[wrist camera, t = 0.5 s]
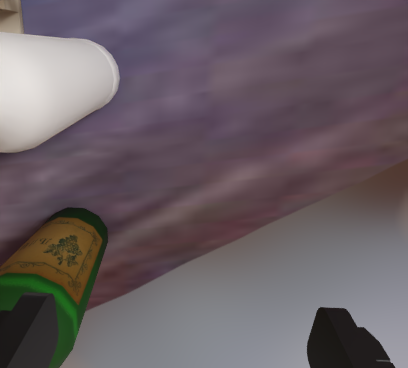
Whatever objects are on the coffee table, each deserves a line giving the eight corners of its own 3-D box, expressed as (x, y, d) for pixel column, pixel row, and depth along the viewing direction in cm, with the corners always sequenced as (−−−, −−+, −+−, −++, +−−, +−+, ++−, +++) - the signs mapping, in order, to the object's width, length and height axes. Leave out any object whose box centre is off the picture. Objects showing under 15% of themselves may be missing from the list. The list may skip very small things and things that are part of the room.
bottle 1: (55, 104, 41) (-241, 222, 13) (50, 35, 38) (-348, -8, 10) (120, 110, 41) (-28, 236, 13) (121, 43, 38) (-69, 22, 10)
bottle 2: (103, 192, 45) (-15, 382, 19) (125, 255, 49) (51, 483, 23) (29, 206, 46) (-184, 411, 20) (56, 268, 50) (-91, 505, 24)
